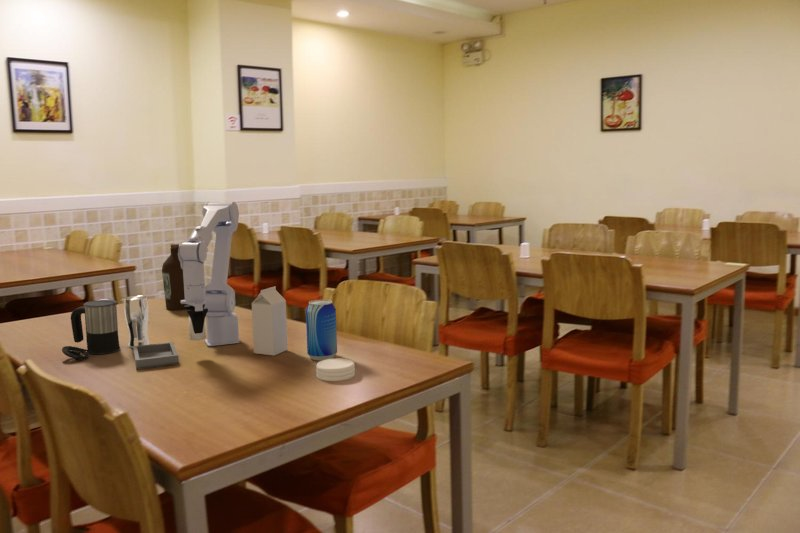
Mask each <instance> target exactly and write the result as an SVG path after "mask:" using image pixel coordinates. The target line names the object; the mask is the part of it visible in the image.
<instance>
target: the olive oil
mask: <svg viewBox="0 0 800 533" xmlns="http://www.w3.org/2000/svg"><path fill="white" fill-rule="evenodd" d="M179 246H180V244H179V243H172V244H170V255H169V256H168V257H167V258H166V259H165V261H164V262H163V263H162V266H161V274H162V282H163V292H164V300H165V309H166V310H168V311H181V310H186V309H185V307H184V306H185V305H188V304H181V300H185V294H184V279H183V269H181V264H180V261H179V258H178V249H179Z"/></svg>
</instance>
